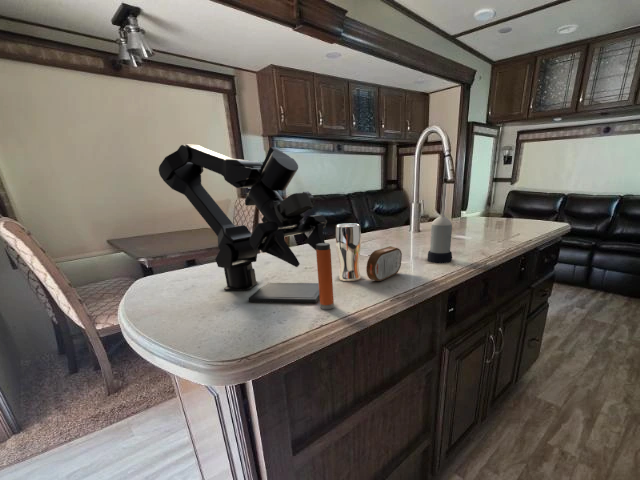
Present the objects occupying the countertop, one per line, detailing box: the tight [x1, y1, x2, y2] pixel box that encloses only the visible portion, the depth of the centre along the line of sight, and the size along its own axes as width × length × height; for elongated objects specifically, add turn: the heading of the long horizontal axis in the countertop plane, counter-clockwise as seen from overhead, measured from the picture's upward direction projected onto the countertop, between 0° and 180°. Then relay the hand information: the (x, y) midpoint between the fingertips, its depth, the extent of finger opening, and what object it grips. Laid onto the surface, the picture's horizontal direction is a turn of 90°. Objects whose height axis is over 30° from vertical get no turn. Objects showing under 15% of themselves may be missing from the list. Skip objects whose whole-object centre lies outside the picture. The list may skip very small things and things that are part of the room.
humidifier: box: [427, 182, 453, 264], centre depth 104 cm, size 8×8×25 cm
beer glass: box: [335, 222, 362, 282], centre depth 88 cm, size 7×7×15 cm
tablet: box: [248, 282, 320, 304], centre depth 78 cm, size 16×12×1 cm
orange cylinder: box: [315, 242, 335, 310], centre depth 68 cm, size 3×3×14 cm
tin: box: [365, 245, 403, 282], centre depth 89 cm, size 15×3×8 cm, turn 144°
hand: (313, 260), depth 68 cm, fingers open, 9 cm apart
